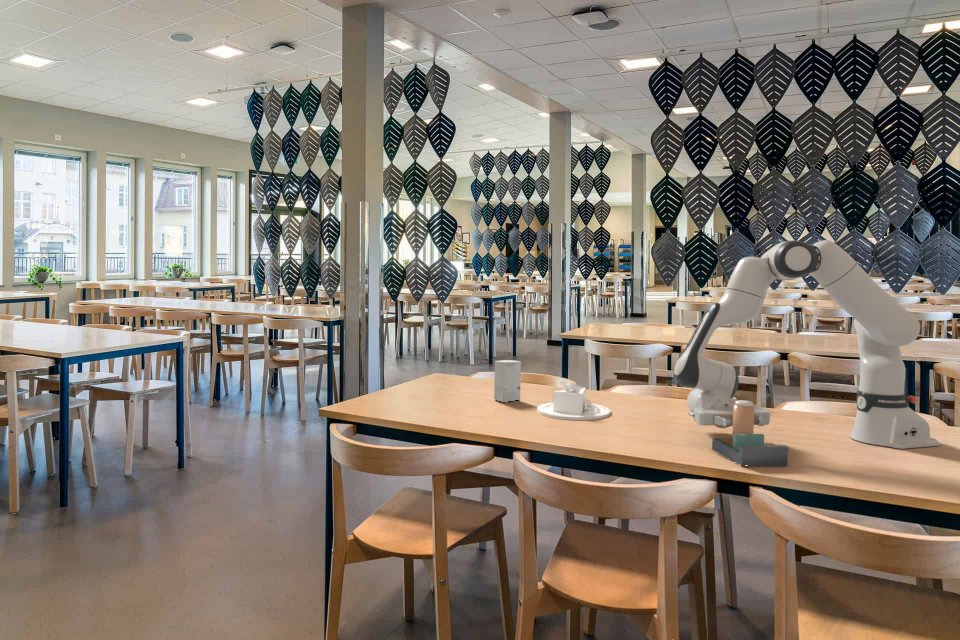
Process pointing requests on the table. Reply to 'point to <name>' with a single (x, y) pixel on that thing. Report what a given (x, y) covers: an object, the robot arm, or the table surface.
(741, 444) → the block
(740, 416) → the slim pink can
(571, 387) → the dish
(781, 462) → the grey open tray
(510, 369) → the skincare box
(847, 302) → the robot arm
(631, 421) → the table surface
